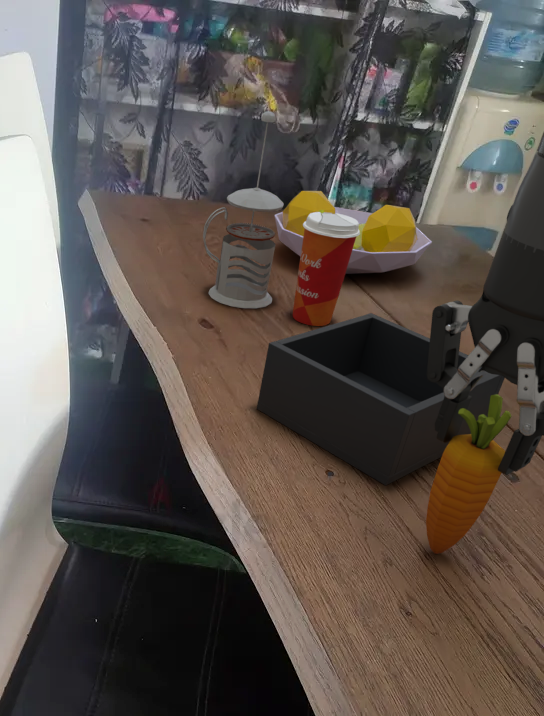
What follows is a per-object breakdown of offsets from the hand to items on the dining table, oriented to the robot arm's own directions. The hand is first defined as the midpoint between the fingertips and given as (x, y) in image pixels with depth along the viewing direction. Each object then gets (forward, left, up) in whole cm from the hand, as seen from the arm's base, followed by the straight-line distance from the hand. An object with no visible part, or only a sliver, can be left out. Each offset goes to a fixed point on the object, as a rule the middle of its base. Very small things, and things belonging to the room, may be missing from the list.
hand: (476, 453), depth 59 cm
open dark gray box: (-14, -18, -10) cm, 25 cm away
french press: (-28, -54, -11) cm, 62 cm away
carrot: (0, 0, -11) cm, 11 cm away
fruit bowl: (-57, -57, -11) cm, 81 cm away
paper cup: (-32, -42, -11) cm, 54 cm away
